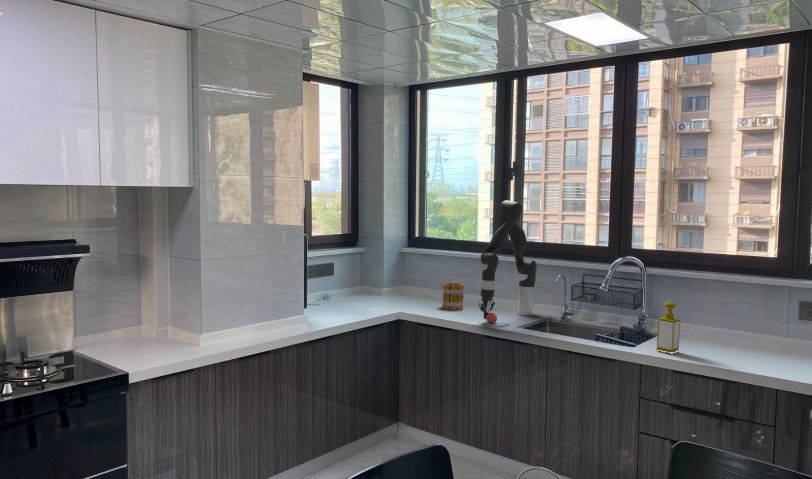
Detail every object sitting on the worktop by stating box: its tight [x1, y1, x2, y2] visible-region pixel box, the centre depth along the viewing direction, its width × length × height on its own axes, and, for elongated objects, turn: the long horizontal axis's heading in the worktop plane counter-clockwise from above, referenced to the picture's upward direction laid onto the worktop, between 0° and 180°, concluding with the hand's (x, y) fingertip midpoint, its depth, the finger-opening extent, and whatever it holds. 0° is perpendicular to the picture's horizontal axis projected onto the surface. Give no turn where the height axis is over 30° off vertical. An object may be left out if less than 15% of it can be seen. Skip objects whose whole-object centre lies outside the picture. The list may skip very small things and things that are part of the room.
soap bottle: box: [656, 301, 681, 352], centre depth 281 cm, size 7×13×24 cm, turn 134°
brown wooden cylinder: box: [441, 282, 465, 311], centre depth 382 cm, size 20×14×15 cm
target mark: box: [483, 320, 510, 328], centre depth 335 cm, size 14×14×1 cm
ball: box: [485, 312, 498, 323], centre depth 336 cm, size 6×6×6 cm
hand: (485, 318), depth 339 cm, fingers closed
